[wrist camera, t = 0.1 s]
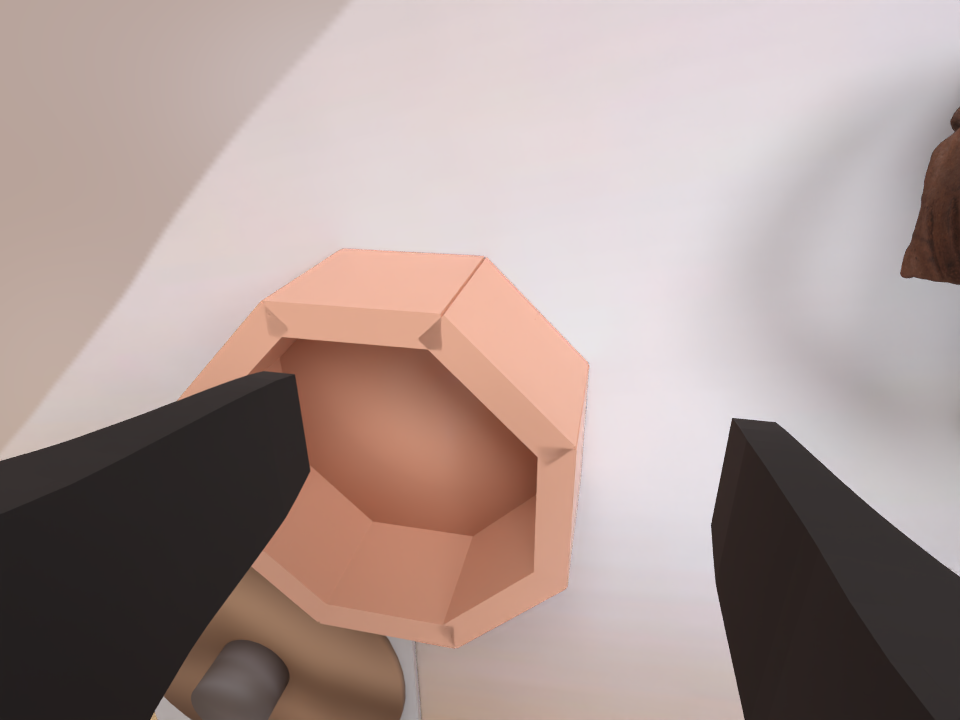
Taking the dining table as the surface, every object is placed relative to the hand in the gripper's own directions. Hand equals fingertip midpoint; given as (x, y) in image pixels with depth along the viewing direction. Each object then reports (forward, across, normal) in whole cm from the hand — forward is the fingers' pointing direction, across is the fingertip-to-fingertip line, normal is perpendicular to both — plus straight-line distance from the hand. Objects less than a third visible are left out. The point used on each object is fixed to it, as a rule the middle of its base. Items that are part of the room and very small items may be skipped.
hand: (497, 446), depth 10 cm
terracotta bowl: (+10, +5, +6) cm, 13 cm away
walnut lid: (+10, +14, +21) cm, 27 cm away
